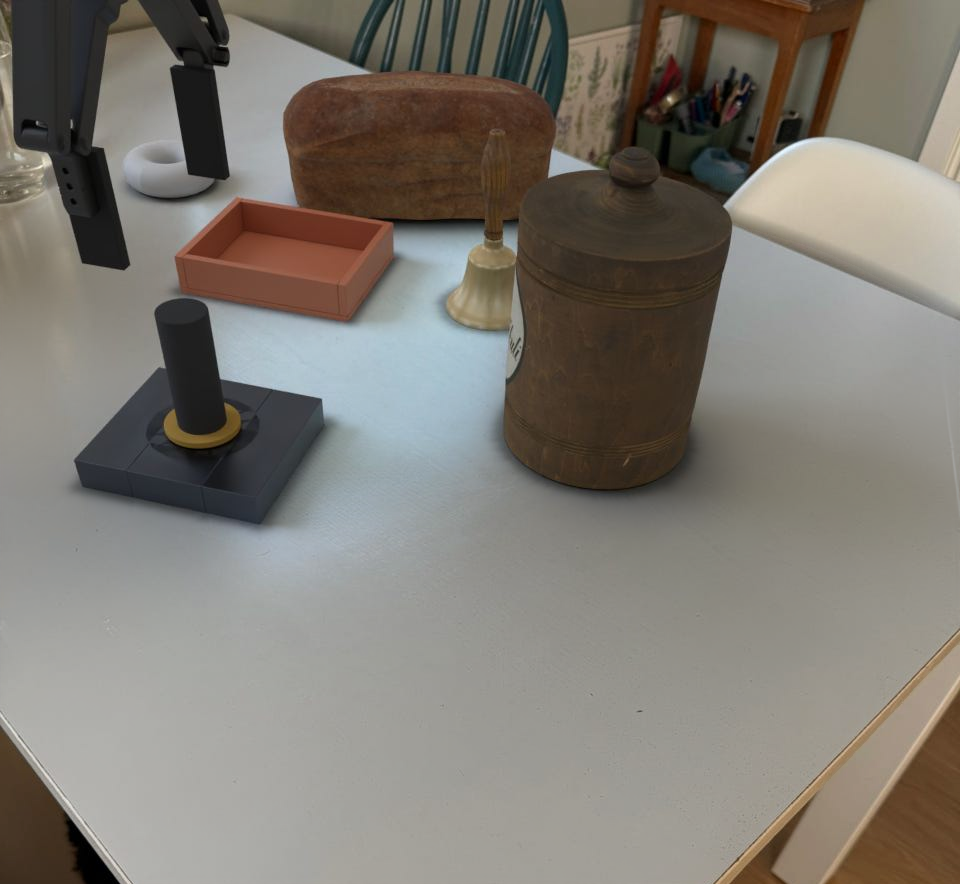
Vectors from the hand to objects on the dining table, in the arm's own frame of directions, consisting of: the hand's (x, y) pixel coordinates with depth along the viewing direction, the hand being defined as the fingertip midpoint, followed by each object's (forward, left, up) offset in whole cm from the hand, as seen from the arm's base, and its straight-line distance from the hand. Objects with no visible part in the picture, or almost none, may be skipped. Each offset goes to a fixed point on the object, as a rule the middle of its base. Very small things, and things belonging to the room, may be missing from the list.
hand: (161, 217), depth 62 cm
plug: (0, 0, -19) cm, 19 cm away
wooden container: (+28, +12, -19) cm, 36 cm away
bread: (+2, +49, -19) cm, 53 cm away
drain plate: (0, 0, -19) cm, 19 cm away
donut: (-25, +44, -19) cm, 54 cm away
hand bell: (+15, +29, -19) cm, 38 cm away
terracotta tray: (-5, +29, -19) cm, 35 cm away
